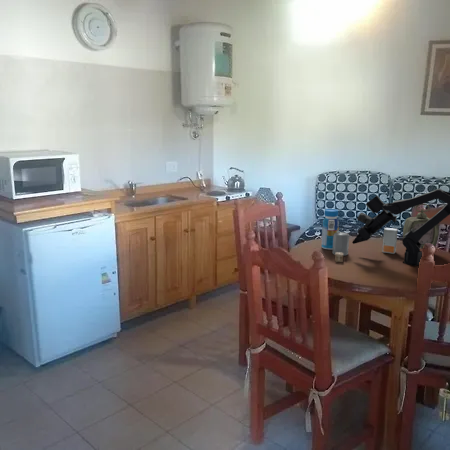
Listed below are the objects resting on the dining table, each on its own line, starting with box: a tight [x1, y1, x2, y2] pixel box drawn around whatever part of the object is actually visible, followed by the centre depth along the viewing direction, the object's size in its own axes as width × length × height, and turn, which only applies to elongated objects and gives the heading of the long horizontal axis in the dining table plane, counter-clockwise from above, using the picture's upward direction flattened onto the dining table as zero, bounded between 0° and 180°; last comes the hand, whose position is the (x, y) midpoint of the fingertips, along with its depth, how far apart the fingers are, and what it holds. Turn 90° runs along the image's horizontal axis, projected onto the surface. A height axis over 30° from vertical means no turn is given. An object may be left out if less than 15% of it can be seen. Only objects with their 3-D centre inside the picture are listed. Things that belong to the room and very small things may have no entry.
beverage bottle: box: [321, 208, 340, 251], centre depth 237 cm, size 8×8×20 cm
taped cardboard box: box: [334, 252, 344, 263], centre depth 216 cm, size 4×4×4 cm
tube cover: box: [332, 231, 350, 257], centre depth 228 cm, size 7×7×10 cm
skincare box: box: [381, 227, 399, 255], centre depth 231 cm, size 6×4×12 cm
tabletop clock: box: [402, 203, 440, 250], centre depth 229 cm, size 14×9×25 cm, turn 92°
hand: (355, 241), depth 224 cm, fingers open, 9 cm apart
